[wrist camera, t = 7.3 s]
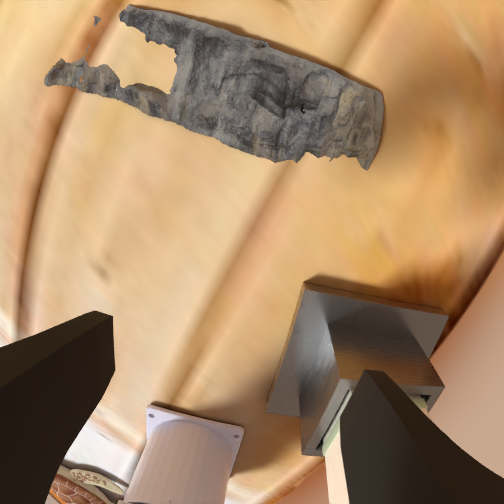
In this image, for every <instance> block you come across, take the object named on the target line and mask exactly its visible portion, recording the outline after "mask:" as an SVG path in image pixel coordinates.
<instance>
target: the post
mask: <svg viewBox="0 0 504 504" xmlns="http://www.w3.org/2000/svg"><path fill="white" fill-rule="evenodd" d="M353 391H354V390H347V392H346V394H345V396H344V398H343V400H342V402H341V404H340V406H339V408H338V410H337V412H336V414H335V415H334V417H333V419H332V421H331V423H330V425H329V426H328V428H327V430H326V432H325V434H324V435H323V442H324V444H323V446H322V451H323V456H325V461H326V471H327V481H328V492H329V503H330V504H349V498H348V492H347V485H346V479H345V473H344V466H343V460H342V454H341V447H340V416H341V414H342V412H343V410H344V409H345V407H346V405H347V403H348V401H349V399H350V397H351V395H352V393H353ZM406 395H407V396H408V397H409V398H410V399H411V400H412V401H413V402H414V403H415V404H416V405H417V406H418V407H419V408H420V409H421V410H422V411H423V413H424V414H425V415H426V416H427V417H428V418H429V419H430V420H431V418H430V416H429V413H428V411H427V408H428V406H427V404H426V402H425V400H424V398H421V396H420V395H416V394H406ZM431 421H432V420H431Z"/></svg>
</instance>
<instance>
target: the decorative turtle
mask: <svg viewBox="0 0 504 504" xmlns="http://www.w3.org/2000/svg"><path fill="white" fill-rule="evenodd" d="M95 485H97V486H100V487H103V488H105V489H107V490H110V491H112V492H115V493H117V494H123V493H124V492H123V490H122V489H121V488H120V487H119V486H117V485H116V484H115V483H114V482H112V481H111V480H109V479H108V478H106V477H104V476H102V475H100V474H98V473H94V472H91V471H86V470H80V469H72V470H70V469H68V468H66V467H64V466H63V465H60V467H59V469H58V472H57V474H56V476H55V478H54V481H53V483H52V486H51V489H52V491H53V492H54V493H55V494H57V495H58V496H59V497H60V498H61V499H62V500H63V501H64V502H66V503H67V504H114V503H112V502H110V501H109V500H108V498H107V497H106V495H105V494H104V493H103V492H101V491H100V490H99V489H98V488H97V487H96V486H95Z"/></svg>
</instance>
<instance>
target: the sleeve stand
mask: <svg viewBox="0 0 504 504" xmlns="http://www.w3.org/2000/svg"><path fill="white" fill-rule="evenodd" d="M448 318H449V315H448V314H447V313H446V312H445V311H444V310H443V309H439V308H434V307H428V306H423V305H417V304H412V303H407V302H401V301H396V300H391V299H386V298H380V297H375V296H370V295H365V294H360V293H355V292H349V291H344V290H339V289H334V288H329V287H324V286H319V285H314V284H309V283H305V282H303V285H302V289H301V292H300V296H299V299H298V303H297V306H296V310H295V313H294V317H293V320H292V323H291V327H290V330H289V333H288V337H287V340H286V343H285V347H284V350H283V353H282V356H281V359H280V363H279V366H278V369H277V372H276V375H275V378H274V381H273V384H272V387H271V390H270V393H269V396H268V399H267V402H266V412H267V413H273V414H279V415H286V416H294V417H300V428H301V451H302V455H308V456H321V457H325V456H323V451H322V446H323V444H324V442H323V435H324V434H325V432H326V430H327V428H328V426H329V425H330V423H331V421H332V419H333V417H334V415H335V414H336V412H337V410H338V408H339V406H340V404H341V402H342V400H343V398H344V396H345V394H346V392H347V390H354V389H355V387H356V385H357V383H358V381H359V379H360V377H361V375H362V373H363V371H364V369H368V370H377V371H383V372H385V373H386V374H387V375H388V376H389V377H390V378H391V379H392V380H393V381H394V382H395V383H396V384H397V385H398V386H399V387H400V388H401V389H402V390H403V391H404V392H405V393H406V394H416V395H420V396H421V398H424V400H425V402H426V404H427V406H428V408H427V411H428V412H429V411H430V410H431V408H432V407H433V405H434V404H435V402H436V400H437V399H438V397H439V396H440V394H441V393H442V391H443V389H444V388H445V386H444V384H443V382H442V381H441V379H440V377H439V376H438V374H437V372H436V371H435V369H434V367H433V365H432V364H431V363H430V360H429V357H430V355H431V353H432V351H433V349H434V347H435V345H436V343H437V341H438V339H439V337H440V335H441V333H442V331H443V329H444V327H445V324H446V322H447V320H448Z"/></svg>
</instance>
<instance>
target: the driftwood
mask: <svg viewBox="0 0 504 504" xmlns="http://www.w3.org/2000/svg"><path fill="white" fill-rule="evenodd" d="M93 17H95V22H94V26H96V25H97V24H98V22H100V19H101V18H99V17H97V16H93ZM119 17H120V21H121V22H124V23H125V24H126V25H127V26H133V27H135V28H137V29H139V30H140V31H141V32H143V33H144V34H145V35H146V36H145V40H146V41H147V43H148V42H149V41H154V42H156V43H157V44H160V45H161V44H163V43H164V44H165V45H167V46H168V47H169V48H173V49H175V53H176V55H177V56H176V58H174V62H175V63H176V64H177V73H176V75H175V78H174V81H173V86H172V87H171V89H170V93H171V94H166V93H164V92H163V91H161V90H159V89H157V88H155V87H152V86H147V85H144V84H140V83H139V84H135V85H129V86H127V87H125V88H121V87H120V80H119V78H118V77H117V75H116V74H115V73H114V71H112V69H111V68H110V67H109V66H108V65H105V64H103V65H100V66H98V67H89V66H88V63H87V62H85V56H86V55H85V56H84V57H82V58H81V59H80V60H77V61H75V62H73V63H71V64H70V63H66V62H65V61H64V60H63V59H62V58H61V59H60V60H59V61H58V62H57V63H56V65H54V66H53V67H52V68H51V70H50V71H49V72H48V74H47V75H46V76H45V79H44V83H45V85H46V86H52V85H56V84H57V85H65V86H71V87H77V88H78V89H79V90H80V91H82V92H86V93H92V94H93V93H95V94H99V95H101V96H103V97H109V98H116V99H117V100H121V101H123V102H124V103H128V104H129V105H132V106H133V107H136V108H138V109H140V110H141V111H142V112H143V113H146V114H147V115H148V116H154V117H158V118H163V119H164V120H165V121H172V122H175V123H176V124H178V125H181V126H184V127H185V128H186V129H188V130H191V131H193V132H197V133H199V134H203V135H205V136H210V137H215V138H216V139H217V140H220V142H222V143H223V144H226V145H228V146H230V147H233V148H236V149H239V150H241V151H244V152H247V153H250V154H252V155H256V156H257V157H263V158H266V159H269V160H271V161H273V162H275V163H276V162H281V161H285V160H291V159H293V160H294V161H295V162H296V163H297V162H298V161H299V160H300V159H301V158H302V157H303V156H304V154H305V152H310V153H311V154H313V155H314V156H316V157H317V158H319V157H323V156H327V157H330V158H331V159H330V161H331V160H333V158H336V159H337V158H338V157H340V156H341V155H343V154H345V155H346V156H347V157H357V159H358V161H359V163H360V165H361V167H362V168H363V169H365V170H367V169H368V168H369V165H370V164H371V163H372V160H373V158H374V157H375V153H376V152H377V149H378V147H379V140H380V136H381V132H382V127H381V125H382V122H383V113H384V110H383V109H384V104H383V97H382V94H381V93H380V92H379V91H377V90H374V89H371V88H369V87H366V86H363V85H360V84H359V83H357V82H355V81H352V80H350V79H348V78H346V77H343V76H342V75H340V74H338V73H337V72H335V71H334V70H331V69H328V67H323V66H322V65H319V64H316V63H314V62H311V61H309V60H306V59H303V58H299V57H297V56H293V55H289V54H286V53H284V52H281V51H280V50H277V49H274V48H271V47H270V46H269V43H268V42H266V41H262V40H257V39H251V38H249V37H243V36H239V35H235V34H233V33H231V32H230V31H228V30H226V29H223V28H218V27H214V26H212V25H210V24H206V23H202V22H199V21H196V20H195V19H189V18H186V17H185V16H184V17H183V16H179V15H176V14H173V13H167V12H164V11H157V10H143V9H139V8H136V7H135V6H131V5H128V6H127V8H126V9H124V10H123V11H121V13H120V14H119ZM89 46H90V45H89ZM88 48H89V47H88ZM88 48H87V50H88ZM87 50H86V52H87ZM82 74H83V77H82V82H81V83H79V79H80V77H81V75H82ZM100 76H101V78H100ZM116 89H117V91H116ZM330 161H329V162H330Z"/></svg>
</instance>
